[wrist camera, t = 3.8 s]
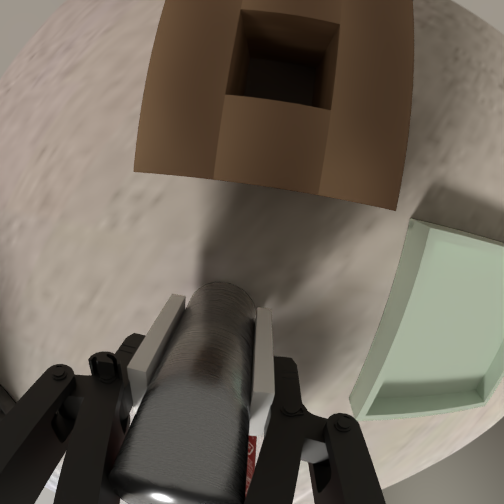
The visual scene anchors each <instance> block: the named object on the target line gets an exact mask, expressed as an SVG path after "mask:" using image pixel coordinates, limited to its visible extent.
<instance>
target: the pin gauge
mask: <svg viewBox="0 0 504 504" xmlns="http://www.w3.org/2000/svg"><path fill="white" fill-rule="evenodd" d="M255 316H256V313H255V307H254V304H253V302H252V300H251V298H250V297H249V296H248V295H247V293H246V292H244V291H243V290H242V289H240V288H239V287H237V286H235V285H232V284H229V283H223V282H215V283H210V284H207V285H204V286H202V287H201V288H199V289H198V290H197V291H196V292H195V293H194V294H193V295H192V297H191V299H190V301H189V303H188V305H187V307H186V309H185V311H184V313H183V315H182V317H181V319H180V321H179V323H178V325H177V327H176V329H175V331H174V333H173V335H172V337H171V339H170V341H169V344H168V346H167V348H166V350H165V352H164V354H163V356H162V358H161V360H160V362H159V364H158V366H157V369H156V371H155V373H154V375H153V377H152V379H151V381H150V383H149V386H148V388H147V390H146V392H145V394H144V396H143V399H142V401H141V403H140V405H139V407H138V410H137V412H136V414H135V416H134V418H133V421H132V423H131V425H130V427H129V430H128V432H127V434H126V436H125V439H124V441H123V443H122V445H121V448H120V450H119V452H118V455H117V457H116V459H115V462H114V464H113V466H112V469H111V471H110V473H109V476H108V480H109V482H110V484H111V486H112V488H113V490H114V492H115V493H116V495H117V496H118V497H119V498H121V499H122V500H123V501H125V502H126V503H128V504H244V502H245V493H246V477H247V461H248V444H249V427H250V401H251V384H252V366H253V348H254V330H255Z"/></svg>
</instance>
